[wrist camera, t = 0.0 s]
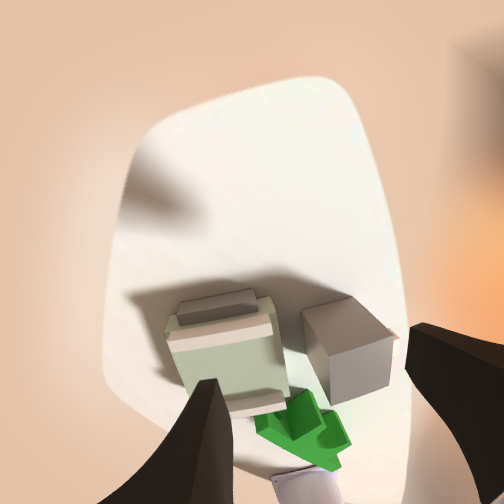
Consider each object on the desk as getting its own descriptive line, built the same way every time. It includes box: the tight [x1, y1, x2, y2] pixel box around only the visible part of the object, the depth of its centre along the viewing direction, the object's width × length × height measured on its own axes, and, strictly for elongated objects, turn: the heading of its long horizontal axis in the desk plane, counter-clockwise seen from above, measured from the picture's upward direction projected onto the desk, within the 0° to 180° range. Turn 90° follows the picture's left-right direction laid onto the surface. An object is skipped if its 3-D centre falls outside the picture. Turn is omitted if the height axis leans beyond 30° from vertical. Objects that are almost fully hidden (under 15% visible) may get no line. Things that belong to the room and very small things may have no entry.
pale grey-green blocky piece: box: [163, 288, 290, 419], centre depth 18 cm, size 8×7×4 cm
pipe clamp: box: [254, 389, 352, 472], centre depth 20 cm, size 11×4×5 cm, turn 41°
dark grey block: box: [301, 297, 400, 406], centre depth 17 cm, size 4×5×6 cm
